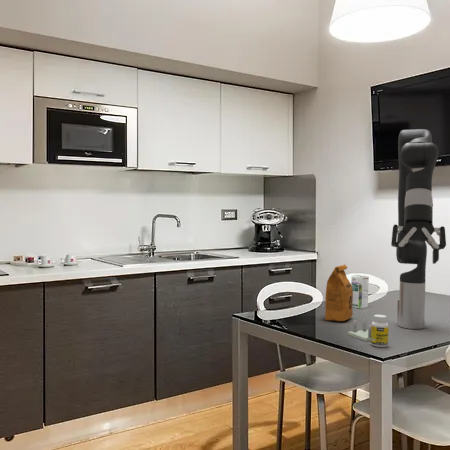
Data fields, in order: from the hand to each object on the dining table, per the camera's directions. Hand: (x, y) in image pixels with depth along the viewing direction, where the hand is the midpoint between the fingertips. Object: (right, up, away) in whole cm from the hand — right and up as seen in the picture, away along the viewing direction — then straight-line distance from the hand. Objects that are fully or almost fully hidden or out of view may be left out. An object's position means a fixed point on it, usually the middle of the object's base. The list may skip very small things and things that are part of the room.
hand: (417, 262), depth 142 cm
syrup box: (+8, -27, +91) cm, 95 cm away
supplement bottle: (-3, -29, +26) cm, 39 cm away
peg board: (-4, -29, +37) cm, 47 cm away
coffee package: (-7, -28, +65) cm, 71 cm away
